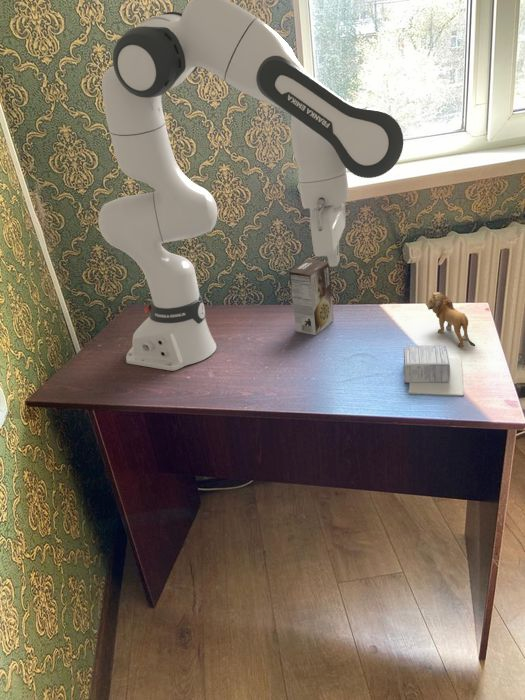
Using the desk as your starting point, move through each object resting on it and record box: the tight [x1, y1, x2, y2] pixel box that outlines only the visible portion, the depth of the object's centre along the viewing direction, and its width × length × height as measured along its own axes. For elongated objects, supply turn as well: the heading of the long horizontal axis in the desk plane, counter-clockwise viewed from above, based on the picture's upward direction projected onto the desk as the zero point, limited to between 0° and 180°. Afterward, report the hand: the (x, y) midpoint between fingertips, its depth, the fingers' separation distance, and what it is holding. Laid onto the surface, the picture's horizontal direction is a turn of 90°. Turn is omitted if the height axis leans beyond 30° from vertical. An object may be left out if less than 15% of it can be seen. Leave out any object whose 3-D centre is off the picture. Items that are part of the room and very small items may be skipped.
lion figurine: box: [425, 291, 476, 348], centre depth 121 cm, size 15×5×9 cm, turn 24°
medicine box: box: [403, 344, 450, 384], centre depth 109 cm, size 8×4×9 cm
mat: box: [408, 357, 464, 397], centre depth 109 cm, size 10×14×1 cm
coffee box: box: [288, 259, 335, 336], centre depth 133 cm, size 9×6×16 cm
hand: (334, 264), depth 105 cm, fingers closed
